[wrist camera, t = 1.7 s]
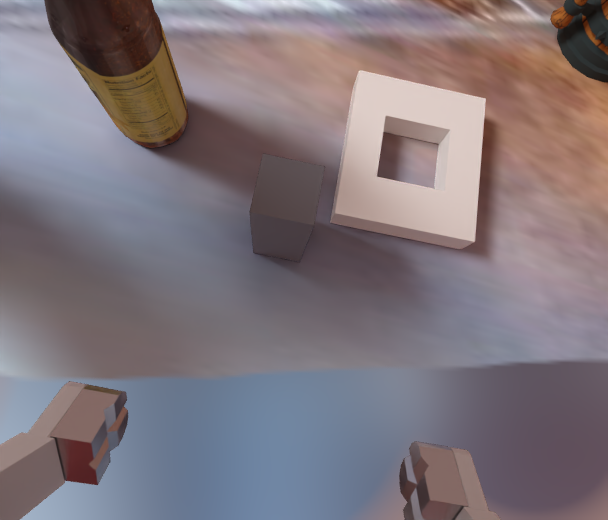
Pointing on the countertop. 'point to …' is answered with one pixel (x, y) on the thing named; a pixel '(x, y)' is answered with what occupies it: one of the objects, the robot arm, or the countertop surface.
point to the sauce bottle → (124, 64)
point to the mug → (584, 36)
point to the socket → (399, 195)
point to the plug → (284, 206)
